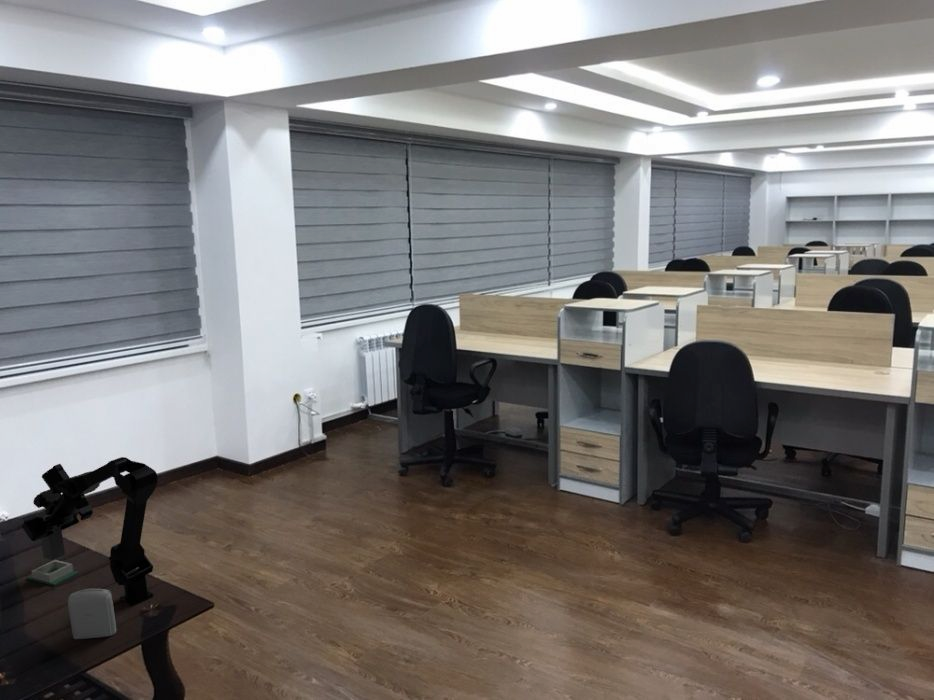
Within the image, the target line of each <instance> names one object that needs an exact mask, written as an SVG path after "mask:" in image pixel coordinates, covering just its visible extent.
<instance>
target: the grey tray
mask: <svg viewBox="0 0 934 700" xmlns="http://www.w3.org/2000/svg"><path fill="white" fill-rule="evenodd" d="M77 575H80V571H77V570H74V567H73V563H71V562H66V561H61V560H58V559H54V560H51V561H50V562H48V563H45V564H43V565H41V566H39V567H36V568H35V569H33V570H31V574H30V575H28V576H26V579H27V580H30V581H33V582H37V583H42V584H45V585H48V586H53V587H57V586H58V585H60V584H62V583H64V582H66V581H67V580H70V579H71V578H73V577H75V576H77Z"/></svg>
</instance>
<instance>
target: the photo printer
mask: <svg viewBox="0 0 934 700" xmlns="http://www.w3.org/2000/svg"><path fill="white" fill-rule="evenodd" d="M67 599H68V600H67V605H68V612H69V613H68V614H69V619H70V624H71V625H70V626H71V632H72V637H73V639H74V640H82V639H83V640H84V639H94V638H95V639H97V638H105V637H111V636H114V635H115V634H116V633H117V624H116V617H115V616H116V615H115V609H114V603H113V595H112V591H111V590H109V589H103V588H85V589H80V590H78V591H75V592H72V593H71V594H70V595H69V596H68V598H67Z"/></svg>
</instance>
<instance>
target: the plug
mask: <svg viewBox="0 0 934 700" xmlns="http://www.w3.org/2000/svg"><path fill="white" fill-rule="evenodd" d="M48 516H49V515H46V516H44V517H43V516H42V517H43V519H44V520H45V517H48ZM48 520H49V519H48ZM45 521H46V520H45ZM52 531H53V534H51V535H49V536H47V537H45V538H43V539H40V542H41V549H42V555H43V558H44V559H47V560H51V561H53V560H57V559H58V558H60V557H62V556H65V555H66V553H65V544H64V537H63V530H61V526H60V527H57V526H54V527H53V529H52Z"/></svg>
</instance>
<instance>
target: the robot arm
mask: <svg viewBox="0 0 934 700" xmlns="http://www.w3.org/2000/svg"><path fill="white" fill-rule="evenodd" d="M125 472H126V474H125V475H123V474H122V473H125ZM41 478H42V480H43V481H44V482H45V484H46V485H47V487H48V488H49V489H47V490H44V491H41V492H40V493H39V494H37V495H36V496H35V497H34V498H33V502H32V503H33V505H34V506H35V507H37V508H38V509H41V508H44V509H45V510H44V513H45V515H46V516H48V515H49V516H48V517H45V516H44V517H45V520H46V521H45V520H44V519H43V516H41V517H39V516H36V515H35V516H32V517H30V518H28V519H24V520H23V522H22V524H21V528H22V529H23V531H24V532H25V533H26V535H27V537H28V538H29V540H30V541H31V542H36V541H38V540H41V539H43V538H45V537H47V536H49V535H51V534H53V531H52V529H53V527H54V526H57V527H60V526H61V530H62V531H64V530H65V529H67V528H70V527H72V526H75V525H77V524H79V523H80V520H81V521H85V520H88V519H90V518H91V517H92V516H93V514H94V512H93V508H92V507H91V506H90V504H89V501H88V499H87V497H86V496H85V495H87V494H90V493H92V492H94V491H96V489H98V488H99V487H100V485H101V484H102V483H103V482H105V481H107V480H109V479H111V478H113V480H114V483H115V485H116V486H117V487H118V488H120V489H121V493H122V494H123V496H124V497H125V499H126V503H125V504H126V505H125V508H124V509H125V511H124V516H123V523H122V530H121V537H120V542H119V543H118V544H115V545H113V546H111V548H110V553H109V554H110V555H109V558H108V560H110V561H109V568H110V571H111V575H112V576H113V579H114V582H115V583H117V585H118V586H123V591H124V595H121V596H120V597H119V600H121V602H123V603H126V604H128V605H130V606H135V605H136V604H139V603H141V602H143V601H145V600H148V599H149V598H152V597H153V596H154V593H153V592H150V591H149V590H148V584H147V578H146V575H148V574H150V573H152V572H153V568H154V565H153V564H152V562H151V561H150V560H149V559H148V557H147V556H146V553H145V548H144V547H143V545H142V544H141V538H142V534H143V528H144V520H145V516H146V509H147V502H148V500H149V499H150V497H151V496H152V495H153V493H154V492H155V490H156V488H157V486H158V485H157V484H158V482H159V481H158V480H159V477H158V473H157V472H156V470H154V469H153V468H152V467H150V466H149V465H147V464H146V463H143V462H138V461H134V460H131V459H129V458H128V457H126V456H125V457H123V456H122V457H117V458H115V459H112V460H110V461H108V462H107V463H106V464H104V465H102V466H100V467H99V468H98V467H97V468H96V469H94V470H92V471H86V472H84V473H80V474H77V475H74V476H71V477H70V476H69V474H68V473H67V471H66V470H65V469H64V467H63V465H62V464H61V463H57V464H55V465H53V466H52V467H51V468H50V469H48V470H47V471H45V472H43V474H42V475H41ZM78 516H80V518H78ZM48 519H49V520H48ZM79 519H80V520H79Z"/></svg>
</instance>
